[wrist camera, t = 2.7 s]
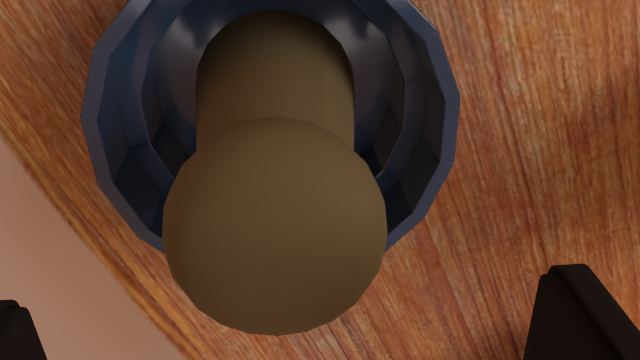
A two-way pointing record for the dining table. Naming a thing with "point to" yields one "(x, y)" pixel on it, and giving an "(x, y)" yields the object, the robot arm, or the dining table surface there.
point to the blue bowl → (180, 101)
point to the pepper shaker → (274, 182)
